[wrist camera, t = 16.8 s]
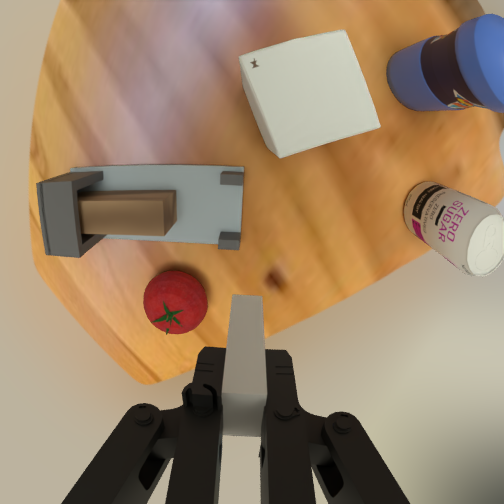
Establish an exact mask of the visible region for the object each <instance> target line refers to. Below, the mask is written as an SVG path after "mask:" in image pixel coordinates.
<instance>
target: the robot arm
mask: <svg viewBox="0 0 504 504" xmlns="http://www.w3.org/2000/svg"><path fill="white" fill-rule="evenodd" d="M182 398H183V405H182V406H180V407H178V408H174V409H170V410H161V411H160V410H159V409H158V408H157V407H155V406H154V405H151V404H146V403H143V404H137V405H135V406H132V407H131V408H130V409H129V410H128V411H127V412H126V414H125V415H124V416H123V418H122V419H121V421H120V422H119V423H118V425H117V426H116V428H115V429H114V430H113V432H112V433H111V435H110V436H109V437H108V439H107V440H106V442H105V443H104V444H103V446H102V447H101V449H100V450H99V451H98V453H97V454H96V456H95V457H94V458H93V460H92V461H91V463H90V464H89V465H88V467H87V468H86V469H85V471H84V472H83V474H82V475H81V477H80V478H79V479H78V481H77V482H76V484H75V485H74V487H73V488H72V489H71V491H70V492H69V493H68V495H67V496H66V498H65V499H64V500H63V502H62V503H61V504H147V502H148V500H149V498H150V496H151V494H152V493H153V491H154V489H155V487H156V485H157V484H158V482H159V480H160V478H161V476H162V474H163V472H164V471H165V469H166V467H167V465H168V463H169V461H170V459H171V458H174V459H173V464H172V469H171V475H170V480H169V486H168V491H167V497H166V503H165V504H218V497H219V483H220V470H221V457H222V436H223V435H231V436H254V437H261V446H260V452H259V457H260V478H261V479H260V480H261V504H316V500H315V492H314V484H313V477H312V469H313V471H314V473H315V476H316V478H317V480H318V482H319V484H320V486H321V489H322V491H323V493H324V495H325V498H326V499H327V501H328V504H410V503H409V501H408V499H407V498H406V496H405V495H404V493H403V491H402V490H401V488H400V486H399V485H398V483H397V481H396V480H395V478H394V477H393V475H392V473H391V472H390V470H389V469H388V467H387V465H386V464H385V462H384V460H383V459H382V457H381V456H380V454H379V452H378V451H377V449H376V448H375V446H374V444H373V443H372V441H371V440H370V438H369V436H368V435H367V433H366V431H365V430H364V428H363V427H362V425H361V423H360V422H359V420H357V418H356V417H355V416H353V415H352V414H350V413H347V412H335V413H333V414H331V415H329V416H328V417H327V418H326V417H321V416H317V415H313V414H310V413H308V412H307V411H305V410H304V409H303V408H302V407H301V406H300V404H299V402H298V397H297V390H296V383H295V376H294V370H293V363H292V357H291V356H290V355H289V354H288V352H287V351H286V350H271V349H269V350H268V349H265V340H264V321H263V302H262V296H251V295H232V304H231V312H230V321H229V330H228V339H227V348H218V347H204V348H203V349H202V350H201V351H200V353H199V354H198V358H197V364H196V368H195V373H194V377H193V382H192V383H189V384H188V385H187V386H185V387H184V389H183V391H182ZM311 467H312V469H311Z"/></svg>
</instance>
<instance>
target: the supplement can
mask: <svg viewBox="0 0 504 504" xmlns="http://www.w3.org/2000/svg"><path fill="white" fill-rule="evenodd" d="M404 218H405V222H406V225H407V227H408V229H409V230H410V231H411V232H412V233H413V234H414V235H416V236H417V237H418V238H420V239H421V240H422V241H424V242H425V243H426V244H428V245H429V246H430V247H432V248H433V249H434V250H436V251H437V252H438V253H439V254H441V255H442V256H443V257H444V258H446V259H447V260H448V261H449V262H451V263H452V264H453V265H454V266H456V267H457V268H458V269H459V270H461V271H462V272H463V273H464V274H467V275H471V276H476V275H477V276H480V277H482V276H486V275H489V274H490V273H492V272H493V271H494V270H496V269H497V267H498V266H499V265H500V264H501V262H502V261H503V259H504V218H503V217H502V215H501V214H500V212H499V210H498V209H497V208H495V207H493V206H492V205H490V204H487V203H485V202H483V201H481V200H478V199H476V198H473V197H471V196H469V195H466V194H464V193H461V192H459V191H456V190H454V189H451V188H448V187H446V186H443V185H440V184H438V183H435V182H423V183H421V184H419V185H417V186H416V187H415V188H414V189H413V190H412V191H411V192H410V193H409V196H408V198H407V200H406V202H405V208H404Z"/></svg>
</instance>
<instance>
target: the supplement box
mask: <svg viewBox="0 0 504 504" xmlns="http://www.w3.org/2000/svg"><path fill="white" fill-rule="evenodd" d="M239 62H240V69H241V77H242V84H243V89H244V91H245V94H246V97H247V99H248V102H249V104H250V107H251V110H252V112H253V115H254V117H255V120H256V122H257V125H258V127H259V130H260V133H261V135H262V137H263V140H264V142H265V144H266V146H267V148H268V149H269V150H270V151H272V152H273V153H274V154H275V155H277V156H278V157H279V158H284V157H287V156H289V155H292V154H296V153H299V152H302V151H305V150H308V149H311V148H314V147H317V146H321V145H324V144H327V143H330V142H334V141H337V140H340V139H344V138H347V137H350V136H354V135H357V134H361V133H364V132H367V131H371V130H374V129H378V128H380V127H381V126H380V123H379V120H378V117H377V113H376V110H375V107H374V104H373V101H372V98H371V96H370V93H369V90H368V87H367V84H366V82H365V79H364V76H363V74H362V71H361V68H360V66H359V63H358V60H357V58H356V55H355V53H354V50H353V48H352V45H351V43H350V40H349V38H348V36H347V33H346V31H345V30H337V31H332V32H326V33H321V34H317V35H312V36H307V37H303V38H297V39H292V40H289V41H287V42H284V43H280V44H276V45H273V46H269V47H266V48H263V49H259V50H256V51H253V52H250V53H247V54H244V55H241V56H239Z"/></svg>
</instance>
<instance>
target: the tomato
mask: <svg viewBox="0 0 504 504" xmlns="http://www.w3.org/2000/svg"><path fill="white" fill-rule="evenodd" d="M143 304H144V309H145V312H146V315H147V317H148V319H149V320H150V322H151V323H152V324H153V325H154V326H155V327H157V328H158V329H160V330H161V331H164V332H166V335H167V333H170V334H183V333H187V332H189V331H191V330H193V329H194V328H196V327H197V326H198V325H199V324H200V323H201V322H202V320H203V319H204V317H205V315H206V312H207V307H208V305H207V297H206V293H205V291H204V288H203V287H202V285H201V284H200V283H199V281H197V280H196V279H195V278H194V277H192V276H191V275H189V274H187V273H184V272H181V271H166V272H163V273H161V274H159V275H158V276H156V277H154V278H153V279H152V280H151V281H150V282H149V284H148V285H147V287H146V289H145V292H144V301H143Z"/></svg>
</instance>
